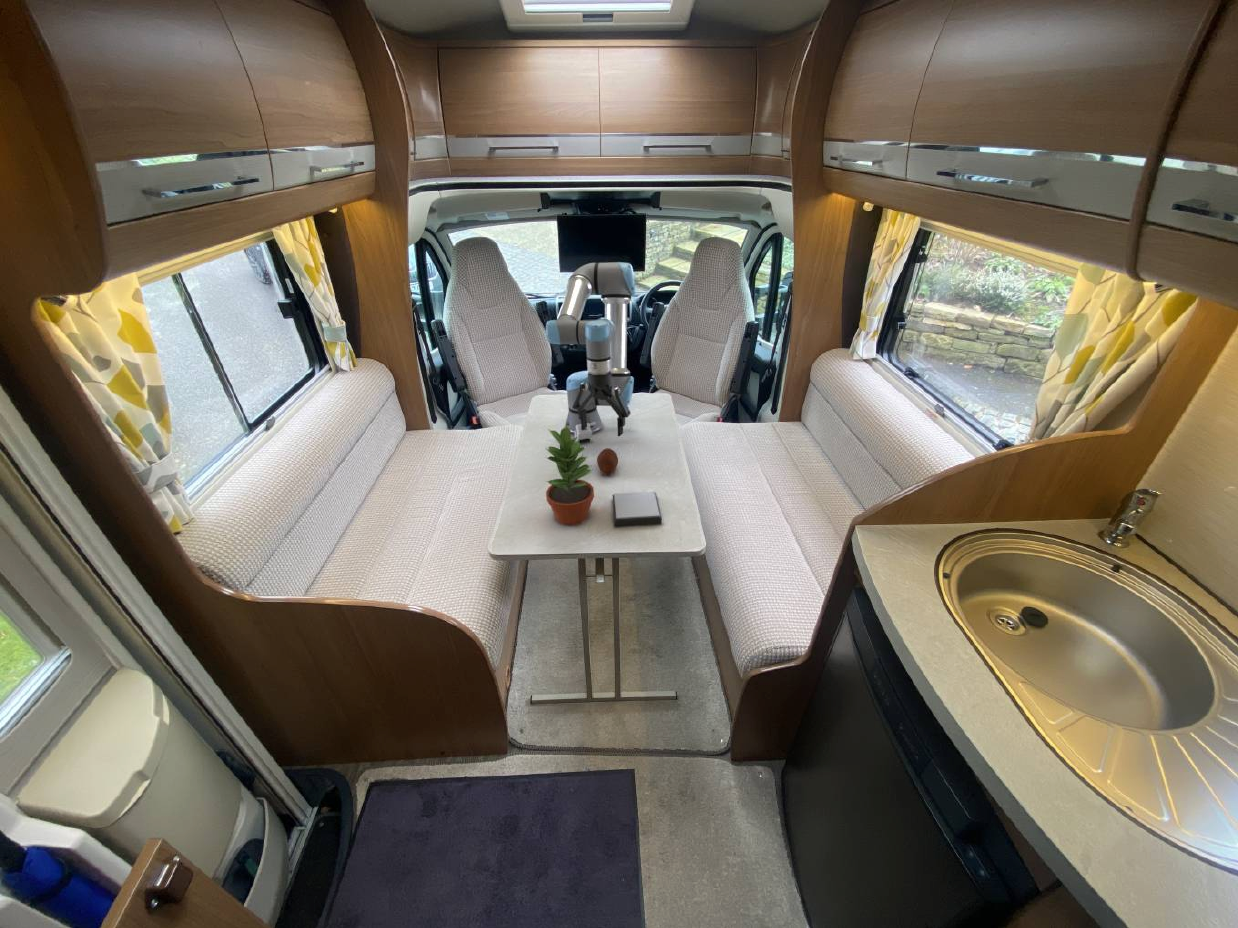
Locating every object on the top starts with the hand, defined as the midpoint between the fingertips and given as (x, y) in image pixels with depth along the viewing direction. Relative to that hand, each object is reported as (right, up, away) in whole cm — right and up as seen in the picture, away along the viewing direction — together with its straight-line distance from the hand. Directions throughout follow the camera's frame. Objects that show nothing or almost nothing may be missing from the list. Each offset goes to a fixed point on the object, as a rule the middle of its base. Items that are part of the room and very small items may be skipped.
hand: (602, 431), depth 169 cm
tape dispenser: (-8, -3, +28) cm, 29 cm away
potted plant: (-9, -27, -14) cm, 32 cm away
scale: (+11, -26, -14) cm, 31 cm away
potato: (+2, -13, +9) cm, 16 cm away
